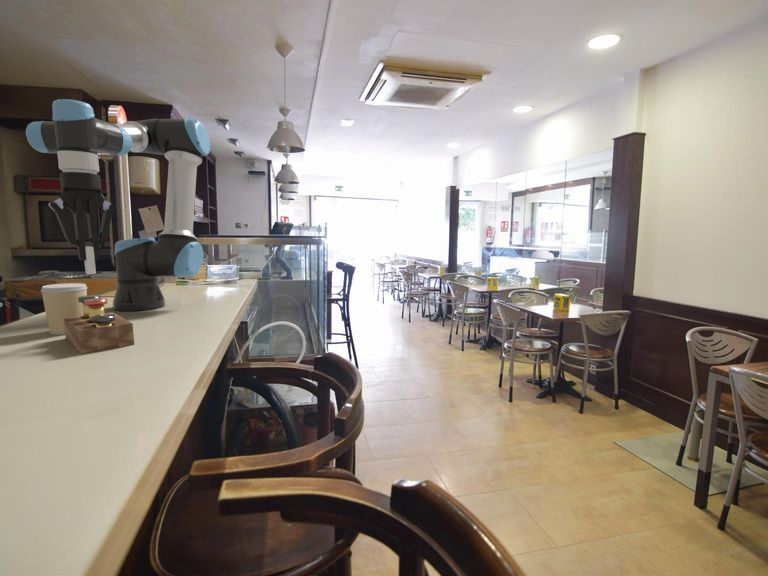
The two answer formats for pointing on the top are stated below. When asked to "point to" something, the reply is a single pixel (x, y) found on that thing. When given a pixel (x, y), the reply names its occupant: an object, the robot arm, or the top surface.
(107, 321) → the plunger
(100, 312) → the plunger red
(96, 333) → the walnut block
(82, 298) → the plunger
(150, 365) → the top surface
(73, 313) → the coffee cup
